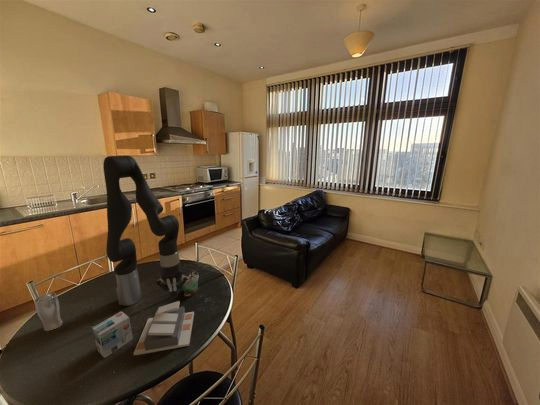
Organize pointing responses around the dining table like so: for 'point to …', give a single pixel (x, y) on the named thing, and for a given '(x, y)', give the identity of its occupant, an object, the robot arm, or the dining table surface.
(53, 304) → the beer glass
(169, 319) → the rocker middle
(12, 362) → the dining table surface
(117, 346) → the light bulb box
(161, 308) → the rocker back
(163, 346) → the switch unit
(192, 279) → the food container
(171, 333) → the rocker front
